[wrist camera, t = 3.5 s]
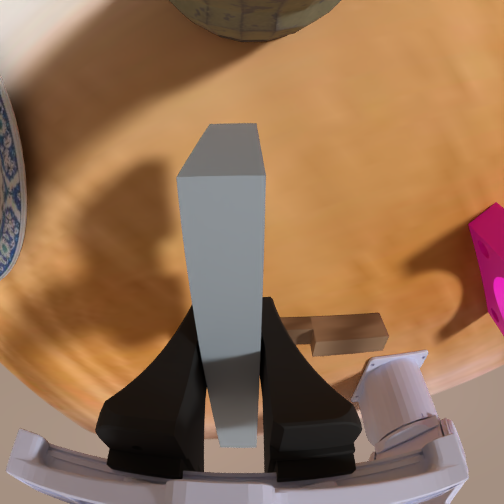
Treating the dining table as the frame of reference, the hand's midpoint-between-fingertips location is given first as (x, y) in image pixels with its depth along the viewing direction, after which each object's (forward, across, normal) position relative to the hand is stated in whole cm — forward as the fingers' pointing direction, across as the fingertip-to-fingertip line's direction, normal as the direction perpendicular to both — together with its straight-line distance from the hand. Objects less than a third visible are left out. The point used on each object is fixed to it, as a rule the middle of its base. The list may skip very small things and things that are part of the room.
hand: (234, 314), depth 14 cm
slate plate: (+4, 0, 0) cm, 4 cm away
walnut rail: (+10, -4, +11) cm, 15 cm away
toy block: (+10, -27, +4) cm, 29 cm away
